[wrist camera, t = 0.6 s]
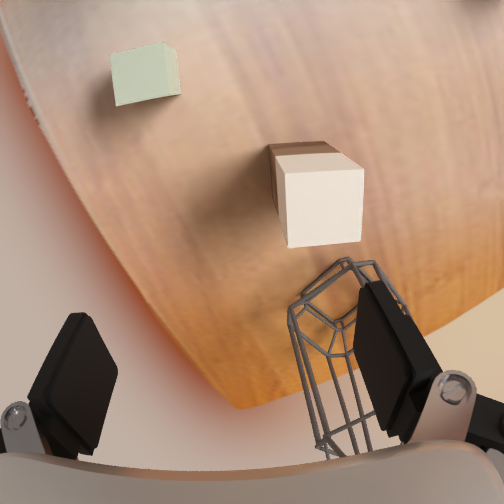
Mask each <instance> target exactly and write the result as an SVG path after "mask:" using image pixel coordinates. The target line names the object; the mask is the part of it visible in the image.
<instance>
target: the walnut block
mask: <svg viewBox="0 0 504 504" xmlns="http://www.w3.org/2000/svg"><path fill="white" fill-rule="evenodd" d="M317 153H341V152H339V151H338V150H336V149H335V148H333V147H332V146H330V145H329V144H327V143H326V142H324V141H317V142H297V143H281V144H269V155H270V169H271V183H272V197H273V200H274V204H275V207H276V210H277V213H278V216H279V211H278V194H277V178H276V162H275V156H284V155H299V154H317Z"/></svg>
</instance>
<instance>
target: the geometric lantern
mask: <svg viewBox="0 0 504 504" xmlns="http://www.w3.org/2000/svg"><path fill="white" fill-rule="evenodd" d="M347 260H348V264H349V265H348V266H346V267H344V265H343V263H342V262H343V261H347ZM339 263H340V265H341V267H342V270H341V271H339V272H338V273H337V274H335V275H334V276H332V277H331V278H329V279H328V280H327V281H325V282H324V283H322V284H321V285H319V286H318V287H316V288H315V289H314V290H312V291H311V292H309V293H308V294H305V293H306V292H307V291H308V290H309V289H311V288H312V287H313V286H314V285H315V284H316V283H318V282H319V281H320V280H321V279H322V278H323V277H324V276H326V275H327V274H328V273H329V272H330V271H331V270H332V269H334V268H335V267H336V266H337V265H338V264H339ZM366 265H373V267H374V269H375V271H376V273H377V275H378V277H379V279H380V280H382V281H383V282H384V283H385V285H386V287H387V288H388V290H389V291H390V289H391V291H392V292H393V294H394V295H395V296H396V298H397V299H398V300H395V301H396V303H398V304H401V305H402V308H401V311H402V312H403V314H404V311H405V313H406V314H407V315H409V316H410V317H411V318H412V316H411V314H410V312H409V310H408V308H407V305H406V304H405V302H404V301H403V299H402V298H401V296H400V295H399V293H398V292H397V291H396V289H395V288H394V286H393V285H392V283H391V282H390V281H389V279H388V278H387V276H386V275H385V274H384V272H383V271H382V270H381V268H380V267H379V265H378V264H377V263H376V261H374V260H368V261H360V262H354V261H353V260H352V259H351V258H350V257H347V258H343V259H339V260H338V261H337V262H336V263H335V264H334V265H333V266H332V267H330V268H329V269H328V270H327V271H326V272H325V273H324V274H322V275H321V276H320V277H319V278H318V279H317V280H316V281H314V282H313V283H312V284H311V285H310V286H309V287H307V288H306V289H305V290H304V291H303V292H302V296H303V297H302V298H300V299H299V300H297V301H296V302H294V303H293V304H291V305H290V306H289V307H288V311H287V326H288V329H289V333H290V337H291V341H292V345H293V349H294V353H295V357H296V361H297V365H298V369H299V373H300V378H301V382H302V386H303V390H304V394H305V399H306V402H307V406H308V411H309V415H310V420H311V424H312V428H313V433H314V437H315V441H316V445H315V448H316V449H319V450H322V451H324V452H325V453H326V458H327V460H330V456H329V453H330V454H333V455H336V456H339V458H342V457H347V456H346V455H345V454H344V453H343V452H342V451H341V450H340V448H339V447H338V446H337V445H336V444H335V442H334V441H333V440H332V439H331V436H332V435H334V434H336V433H338V432H340V431H343V430H345V429H347V428H348V431H349V435H350V438H351V442H352V445H353V449H354V452H355V455H357V454H360V453H359V450H358V446H357V442H356V439H355V435H354V432H353V429H352V426H353V425H355V424H357V423H359V422H361V423H362V427H363V431H364V436H365V440H366V444H367V449H368V452H370V451H373V449H372V445H371V441H370V437H369V433H368V429H367V424H366V421H365V419H367V418H369V417H371V416H373V415H375V411H372V412H370V413H368V414H366V415H364V412H363V408H362V405H361V401H360V397H359V393H358V389H357V385H356V382H355V378H354V375H353V371H352V367H351V363H350V359H349V355H350V354H351V353H353V352H354V350H353V348H352V349H351V350H349V351H347V345H346V339H345V334H344V330H346V329H347V328H348V327H349V326H351V325H352V324H353V323H355V322H356V318H355V319H354V320H353V321H352V322H350V323H349V324H348V325H347V326H345V327H344V324H343V320H344V319H346V318H347V317H348V316H349V315H351V314H352V313H353V312H354V311H356V310H357V309H358V306H357V307H355V308H354V309H353V310H352V311H350V312H349V313H348V314H347V315H346V316H344V317H343V318H342V319H339V320H335V321H334V320H332V319H331V318H330V317H328V316H327V315H326V314H324V313H323V312H322V311H321V310H319V309H318V308H317V307H315V306H314V305H313V304H312V303H310V302H309V301H311V300H312V299H313V298H314V297H316V296H317V295H318V294H319V293H321V292H322V291H323V290H324V289H326V288H327V287H328V286H329V285H330V284H332V283H333V282H334V281H335V280H337V279H338V278H339V277H340V276H342V275H343V274H345V273H346V272H347V271H349V270H352V271H353V272H354V274H355V275H356V277H357V279H358V281H359V283H360V285H361V287H364V285H365V283H366V282H368V281H367V280H366V279H365V278H364V277H363V276H362V275H361V274H360V273H359V271H360V272H361V273H362V274H363V275H364V276H365V277H366V278H367V279H368V280H369V281H370V282H373V280H372V279H371V278H370V277H369V276H368V275H367V274H366V273H365V272H364V271H363V270H362V269H361V268H360V267H363V266H366ZM358 270H359V271H358ZM389 288H390V289H389ZM391 291H390V293H391ZM391 294H392V293H391ZM392 296H393V295H392ZM393 298H394V297H393ZM303 304H304V308H303V309H302V310H301V311H300V312H299V313H298V314H297V315H296V316H295V313H294V310H293V309H294V308H295V307H297V306H300V305H303ZM307 304H308V305H310V306H311V307H312V308H314V309H315V310H316V311H318V312H319V313H320V314H322V315H323V316H324V317H325V318H327V319H328V320H329V321H331V322H332V323H333V324H334V326H333V325H331V324H330V323H328V322H327V321H326V320H324V319H323V318H321V317H320V316H319V315H317V314H316V313H314V312H313V311H312V310H310V309H309V308H308V307H307ZM305 310H307V311H308V312H310V313H311V314H312V315H314V316H315V317H317V318H318V319H320V320H321V321H322V322H324V323H325V324H327V325H328V326H330V327H331V328H332V329H334V330H335V332H334V335H333V338H332V341H331V344H330V347H329V350H328V353H327V352H326V351H324V350H323V349H322V348H321V347H319V346H318V345H317V344H316V343H314V342H313V341H312V340H311V339H310V338H308V337H307V336H306V335H305V334H303V333H302V332H301V331H300V329H299V326H298V323H297V319H298V317H299V316H300V315H301V314H302V313H303V312H304V311H305ZM291 319H292V321H291ZM412 320H413V319H412ZM337 322H340V323H341V326H342V328H341V329H337V326H336V323H337ZM337 331H342V337H343V343H344V348H345V353H342V354H330V352H331V349H332V346H333V343H334V340H335V337H336V334H337ZM294 332H295V333H296V336H297V340H298V343H299V346H300V350H301V353H302V357H303V360H304V364H305V367H306V371H307V374H308V378H309V381H310V385H311V388H312V391H313V395H314V399H315V402H316V406H317V409H318V413H319V416H320V420H321V423H322V427H323V431H324V435H323V439H322V440H321V438H320V433H319V429H318V425H317V421H316V417H315V413H314V409H313V405H312V401H311V397H310V393H309V389H308V385H307V381H306V377H305V373H304V369H303V365H302V361H301V358H300V354H299V350H298V346H297V342H296V338H295V335H294ZM302 338H303V339H304V340H306V341H307V342H308V343H309V344H311V345H312V346H313V347H314V348H316V349H317V350H318V351H319V352H321V353H322V354H323V355H324V356H326V358H327V361H328V365H329V368H330V371H331V375H332V378H333V381H334V384H335V387H336V391H337V394H338V398H339V401H340V404H341V408H342V411H343V414H344V418H345V421H346V425H344V426H341V427H339V428H337V429H335V430H333V431H331V432H330V430H329V426H328V423H327V419H326V416H325V412H324V409H323V405H322V402H321V398H320V395H319V392H318V388H317V385H316V382H315V378H314V375H313V372H312V368H311V365H310V362H309V358H308V355H307V352H306V349H305V345H304V342H303V339H302ZM334 357H345V359H346V363H347V367H348V371H349V375H350V378H351V382H352V386H353V390H354V394H355V398H356V402H357V406H358V410H359V414H360V418H358V419H356V420H354V421H352V422H350V419H349V415H348V412H347V409H346V406H345V402H344V399H343V396H342V393H341V390H340V387H339V384H338V380H337V377H336V374H335V371H334V368H333V365H332V362H331V358H334ZM326 442H327V443H328V444H329V445H330V447H331V448H332V449H333V450H334V451H332V450H330V449H328V447H327V444H326ZM402 443H403V442H401V444H400V445H402ZM323 445H324V447H322V446H323Z"/></svg>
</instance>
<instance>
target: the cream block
mask: <svg viewBox="0 0 504 504" xmlns="http://www.w3.org/2000/svg"><path fill="white" fill-rule="evenodd" d="M275 162H276V178H277V194H278V211H279V220H280V223H281V227H282V230H283V233H284V236H285V240H286V243H287V246H288V248H296V247H307V246H317V245H327V244H338V243H348V242H358V241H361V228H362V212H363V191H364V169H363V168H362V167H360V166H359V165H357V164H356V163H355V162H353V161H352V160H350V159H349V158H348V157H346V156H345V155H343V154H342V153H317V154H299V155H284V156H275Z"/></svg>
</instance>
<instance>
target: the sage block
mask: <svg viewBox="0 0 504 504" xmlns="http://www.w3.org/2000/svg"><path fill="white" fill-rule="evenodd" d="M110 63H111V72H112V80H113V88H114V96H115V103H116V106H121V105H126V104H131V103H136V102H141V101H145V100H150V99H156V98H161V97H166V96H172V95H178V94H181V90H180V81H179V72H178V63H177V54H176V49H175V48H173V47H171V46H170V45H168V44H166V43H165V42H161V43H156V44H151V45H147V46H142V47H138V48H134V49H130V50H126V51H122V52H118V53H115V54H111V55H110Z"/></svg>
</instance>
